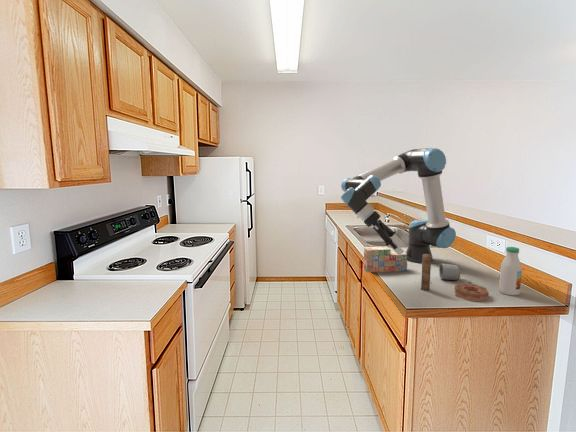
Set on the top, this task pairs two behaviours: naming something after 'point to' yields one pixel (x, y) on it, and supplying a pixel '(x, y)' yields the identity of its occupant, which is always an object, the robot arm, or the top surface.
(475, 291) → the terracotta faceted ring
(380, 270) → the stack of blocks
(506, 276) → the milk bottle
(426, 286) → the dowel
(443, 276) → the ceramic mug
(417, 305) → the top surface
